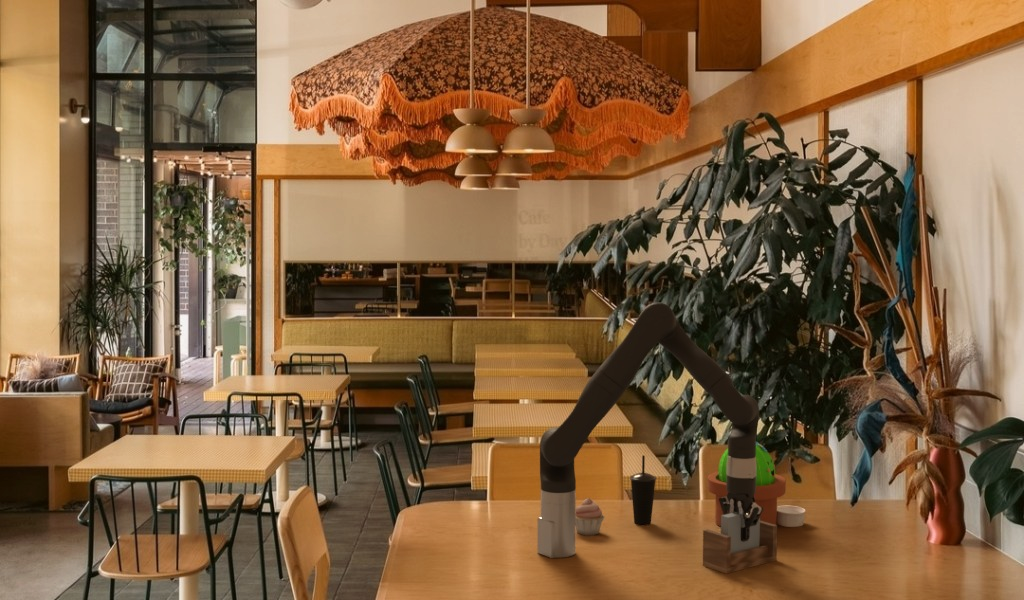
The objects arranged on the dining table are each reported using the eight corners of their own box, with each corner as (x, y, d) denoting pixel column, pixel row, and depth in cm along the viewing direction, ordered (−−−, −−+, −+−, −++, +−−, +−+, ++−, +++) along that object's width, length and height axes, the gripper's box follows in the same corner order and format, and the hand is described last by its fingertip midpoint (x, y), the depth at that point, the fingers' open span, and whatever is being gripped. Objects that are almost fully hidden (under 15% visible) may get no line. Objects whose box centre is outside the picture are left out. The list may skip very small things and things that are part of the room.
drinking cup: (647, 528, 315) (648, 459, 313) (624, 523, 319) (625, 456, 318) (660, 522, 321) (661, 455, 319) (638, 518, 326) (638, 451, 324)
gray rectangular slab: (727, 556, 279) (728, 517, 278) (720, 553, 281) (721, 515, 280) (759, 548, 286) (760, 510, 285) (752, 545, 288) (752, 508, 287)
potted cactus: (697, 528, 315) (698, 442, 313) (720, 510, 335) (721, 429, 333) (773, 538, 305) (775, 450, 303) (792, 519, 324) (794, 436, 323)
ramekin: (808, 528, 316) (808, 513, 316) (777, 527, 316) (777, 513, 316) (801, 519, 325) (801, 505, 325) (771, 519, 325) (771, 505, 325)
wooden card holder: (726, 573, 275) (726, 537, 274) (702, 565, 281) (703, 530, 280) (776, 560, 286) (777, 525, 285) (752, 552, 292) (753, 518, 292)
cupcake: (593, 539, 304) (593, 503, 303) (565, 533, 310) (565, 498, 309) (611, 531, 312) (611, 497, 311) (583, 526, 317) (583, 492, 316)
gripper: (711, 470, 285) (710, 535, 286) (752, 480, 274) (750, 548, 275) (731, 466, 290) (729, 531, 291) (772, 476, 278) (770, 543, 280)
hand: (740, 539), depth 283 cm, fingers closed on gray rectangular slab, 2 cm apart
